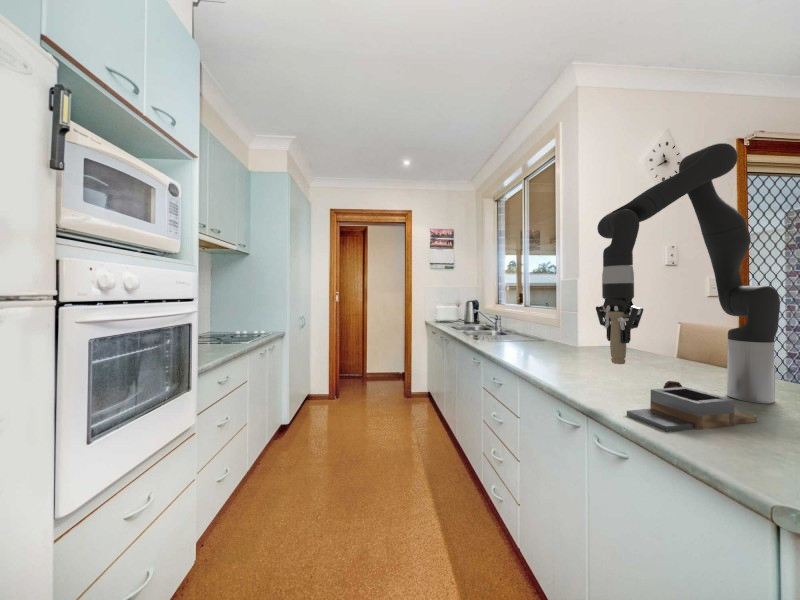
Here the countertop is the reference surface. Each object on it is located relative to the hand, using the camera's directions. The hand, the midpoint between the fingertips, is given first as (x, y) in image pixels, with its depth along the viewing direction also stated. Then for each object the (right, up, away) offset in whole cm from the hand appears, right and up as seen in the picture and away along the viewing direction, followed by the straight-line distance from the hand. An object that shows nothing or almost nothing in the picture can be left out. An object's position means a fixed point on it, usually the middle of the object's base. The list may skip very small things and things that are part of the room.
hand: (618, 341), depth 91 cm
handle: (0, -6, 0) cm, 6 cm away
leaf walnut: (+14, -17, -11) cm, 25 cm away
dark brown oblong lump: (+20, -18, +3) cm, 27 cm away
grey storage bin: (+6, -18, -13) cm, 23 cm away
